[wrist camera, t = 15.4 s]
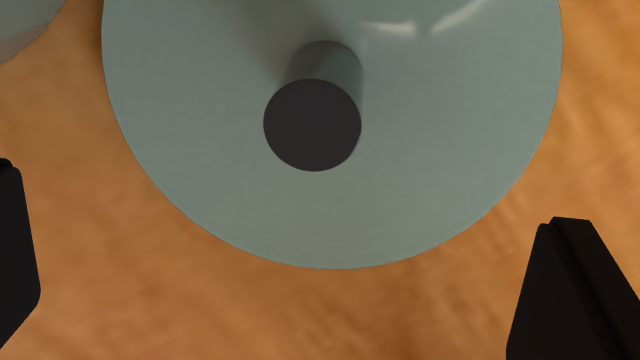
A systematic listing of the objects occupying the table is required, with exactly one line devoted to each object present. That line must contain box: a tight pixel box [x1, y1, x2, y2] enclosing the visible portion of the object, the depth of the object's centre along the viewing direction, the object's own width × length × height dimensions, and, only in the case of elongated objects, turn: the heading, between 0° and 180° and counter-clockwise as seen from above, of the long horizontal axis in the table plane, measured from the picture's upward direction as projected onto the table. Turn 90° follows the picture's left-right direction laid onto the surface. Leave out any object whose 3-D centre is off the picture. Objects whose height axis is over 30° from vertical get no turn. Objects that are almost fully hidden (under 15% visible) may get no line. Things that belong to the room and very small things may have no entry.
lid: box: [101, 0, 563, 270], centre depth 21 cm, size 17×17×6 cm
